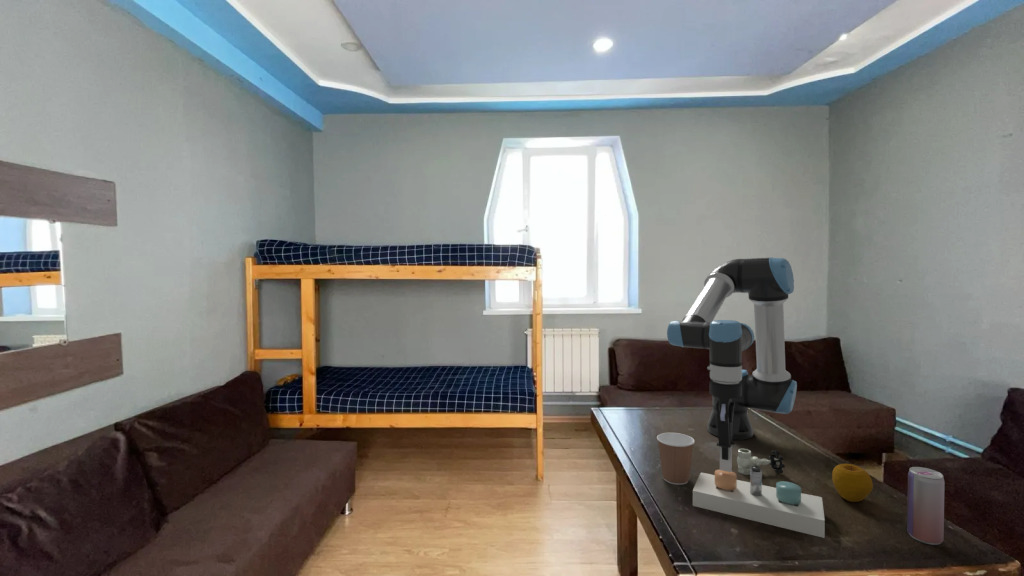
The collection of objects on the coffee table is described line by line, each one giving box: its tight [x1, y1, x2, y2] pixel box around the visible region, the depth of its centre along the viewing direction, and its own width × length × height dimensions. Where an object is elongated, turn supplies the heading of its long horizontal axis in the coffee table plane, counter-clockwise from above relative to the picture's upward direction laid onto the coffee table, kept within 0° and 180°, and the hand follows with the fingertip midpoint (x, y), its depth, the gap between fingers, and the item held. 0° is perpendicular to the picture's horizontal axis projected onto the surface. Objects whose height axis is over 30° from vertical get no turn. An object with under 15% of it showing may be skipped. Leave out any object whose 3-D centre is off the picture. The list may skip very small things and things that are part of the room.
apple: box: [831, 463, 874, 503], centre depth 118 cm, size 8×8×9 cm
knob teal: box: [775, 481, 802, 506], centre depth 110 cm, size 5×5×7 cm
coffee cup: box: [656, 432, 696, 486], centre depth 131 cm, size 10×10×12 cm
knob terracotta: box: [714, 468, 738, 492], centre depth 118 cm, size 5×5×7 cm
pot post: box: [749, 466, 763, 496], centre depth 114 cm, size 3×3×7 cm
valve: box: [736, 448, 786, 476], centre depth 135 cm, size 7×7×12 cm
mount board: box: [692, 472, 826, 539], centre depth 114 cm, size 12×28×4 cm, turn 58°
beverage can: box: [906, 466, 945, 546], centre depth 101 cm, size 6×6×15 cm
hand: (725, 469), depth 118 cm, fingers closed
